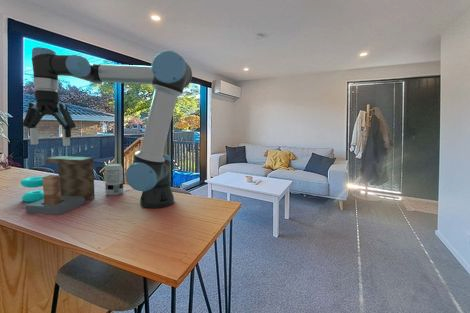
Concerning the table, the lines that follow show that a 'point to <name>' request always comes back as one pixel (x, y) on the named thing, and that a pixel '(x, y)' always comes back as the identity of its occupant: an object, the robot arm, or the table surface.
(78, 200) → the socket
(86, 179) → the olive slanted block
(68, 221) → the table surface
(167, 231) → the table surface
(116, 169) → the supplement can
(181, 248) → the table surface
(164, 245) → the table surface
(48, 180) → the peg
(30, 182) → the donuts
